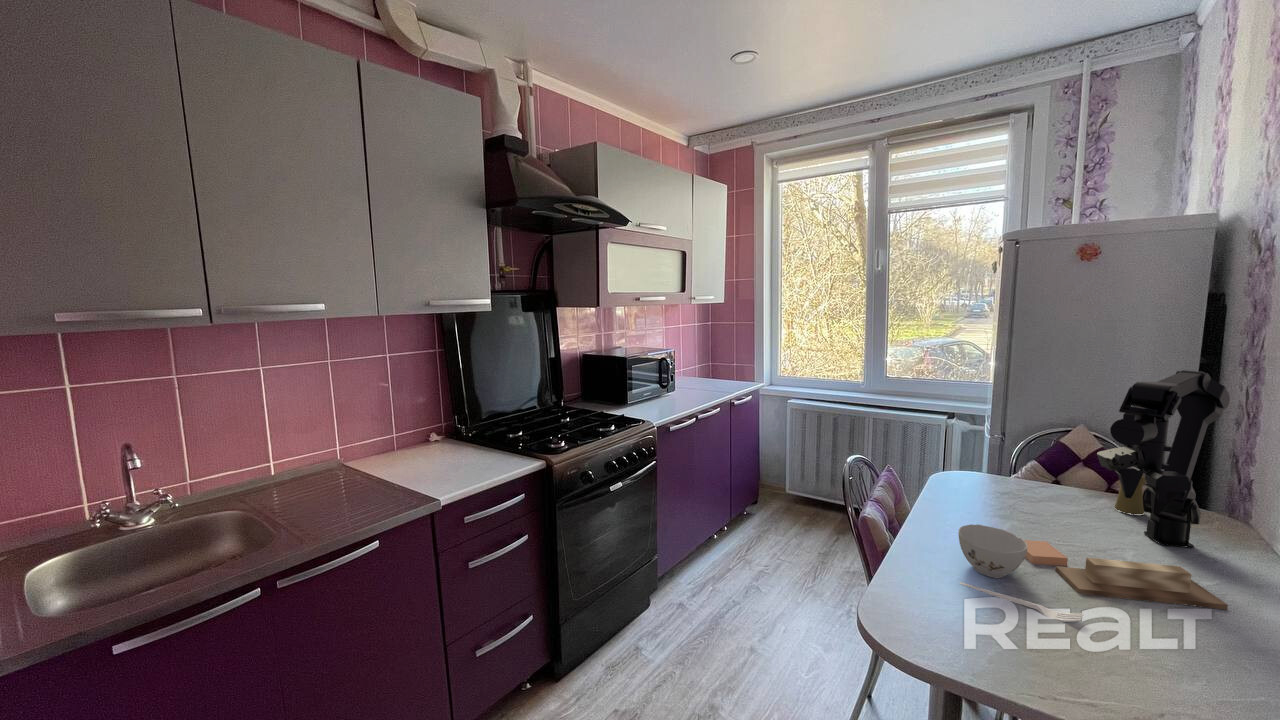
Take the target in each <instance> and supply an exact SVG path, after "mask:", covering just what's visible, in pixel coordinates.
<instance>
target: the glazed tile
mask: <svg viewBox="0 0 1280 720" xmlns="http://www.w3.org/2000/svg"><path fill="white" fill-rule="evenodd" d="M1023 540H1024V539H1023ZM1024 541H1025V542H1026V543H1027V552H1026V556H1025V558H1024V559H1027V561H1029V562H1030V563H1031V564H1036V565H1037V564H1038V565H1049V566H1050V565H1053V566H1062V567H1068V559H1069V558H1068V557H1067V556H1066V555H1065V554H1063V553H1062V552H1060V551H1059V550H1058V549H1057V548H1056V547H1054V546H1053V545H1052V544H1051V543H1049V542H1048V541H1045V540H1044V541H1043V540H1030V539H1029V540H1026V539H1025V540H1024Z"/></svg>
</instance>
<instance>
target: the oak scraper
mask: <svg viewBox="0 0 1280 720" xmlns="http://www.w3.org/2000/svg"><path fill="white" fill-rule="evenodd" d="M1084 567H1085V568H1084V569H1085V576H1086V577H1087V578H1088V579H1089V580H1090V581H1091V582H1093V583H1098V584H1107V585H1117V586H1126V587H1136V588H1145V589H1155V590H1164V591H1174V592H1183V593H1189V591H1190V583H1191V580H1192V575H1193V574H1192V573H1190V572H1189V571H1187V570H1186V569H1185V568H1183V567H1182V566H1179V565H1169V564H1161V563H1160V564H1159V563H1147V562H1139V561H1138V562H1136V561H1126V560H1116V559H1115V560H1114V559H1107V558H1106V559H1105V558H1097V557H1096V558H1095V557H1094V558H1093V557H1086V558H1085V566H1084Z"/></svg>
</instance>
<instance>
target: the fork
mask: <svg viewBox="0 0 1280 720" xmlns="http://www.w3.org/2000/svg"><path fill="white" fill-rule="evenodd" d="M958 584H959V585H962V586H965V587H969V588H971V589H974V590H977V591H979V592H982V593H985V594H989V595H991V596H994V597H997V598H999V599H1002V600H1005V601H1008V600H1009V602H1011V601H1013V602H1012V603H1015V604H1019V605H1021V606H1025V607H1028V608H1030V609H1034V610H1036V611H1038V612H1039V613H1040V614H1041V615H1043V616H1045V617H1048V618H1051V619H1053V620H1057V621H1060V622H1063V623H1070V622H1077V621H1082V620H1084V619H1083V618H1084V614H1085V613H1071V612H1070V613H1069V612H1068V613H1067V612H1061V611H1056V610H1053V609H1050V608H1048V607H1047V606H1043V605H1041V604H1038V603H1034V602H1031V601H1027V600H1024V599H1020V598H1018V597H1014V596H1010V595H1007V594H1003V593H999V592H996V591H992V590H990V589H985V588H982V587H979V586H975V585H971V584H968V583H964V582H959V583H958Z"/></svg>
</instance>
